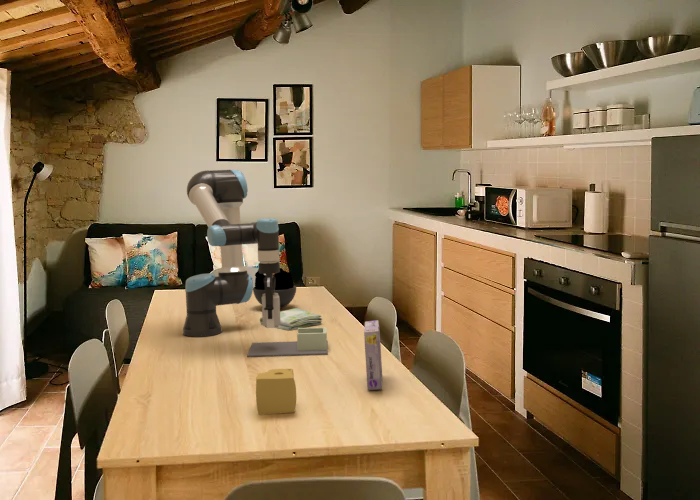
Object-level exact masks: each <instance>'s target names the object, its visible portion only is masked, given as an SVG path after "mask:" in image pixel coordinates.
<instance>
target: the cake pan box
mask: <svg viewBox="0 0 700 500" xmlns="http://www.w3.org/2000/svg"><path fill="white" fill-rule="evenodd" d="M363 331H364V332H363V333H364V337H363V338H364V351H365V352H364V353H365V370H366V373H365V374H366V386H367V390H368V391H383V368H382V367H383V366H382V364H383V362H382V347H381V346H382V345H381V334H380V333H381V332H380V321H379V319H378V320H369V321H365V322H364V329H363Z"/></svg>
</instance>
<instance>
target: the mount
mask: <svg viewBox="0 0 700 500" xmlns="http://www.w3.org/2000/svg"><path fill="white" fill-rule="evenodd" d="M327 329H328V328H327V326H324V327H323V326H322V327H303V328H298V329H297V334H296V337H297V338H296V339H297V341H295V340H294V341H293V340H292V341H270V342H269V341H265V342H264V341H263V342H252V343H251V344H250V347H249V350H248V352H247V355H246V357H247V358H263V357H264V358H266V357H267V358H270V357H295V356H296V357H299V356H301V357H302V356H303V357H304V356H327V355H328V352H329V351H328V349H329V348H328V345H329V343H328V337H327V336H328V335H327V334H328V333H327Z"/></svg>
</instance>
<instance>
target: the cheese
mask: <svg viewBox="0 0 700 500" xmlns="http://www.w3.org/2000/svg"><path fill="white" fill-rule="evenodd" d="M294 377H295V375H294V369H293V368H272V369H269V370H267V371H266V372H259V373H257V375H256V378H255V381H256V382H255V398H256V400H255V402H256V409H257V415H259V416H261V415H275V414H276V415H277V414H278V415H279V414H290V413H291V414H293V413H295V412H296V408H297V407H296V406H297V385H296V381H295V378H294Z"/></svg>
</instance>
